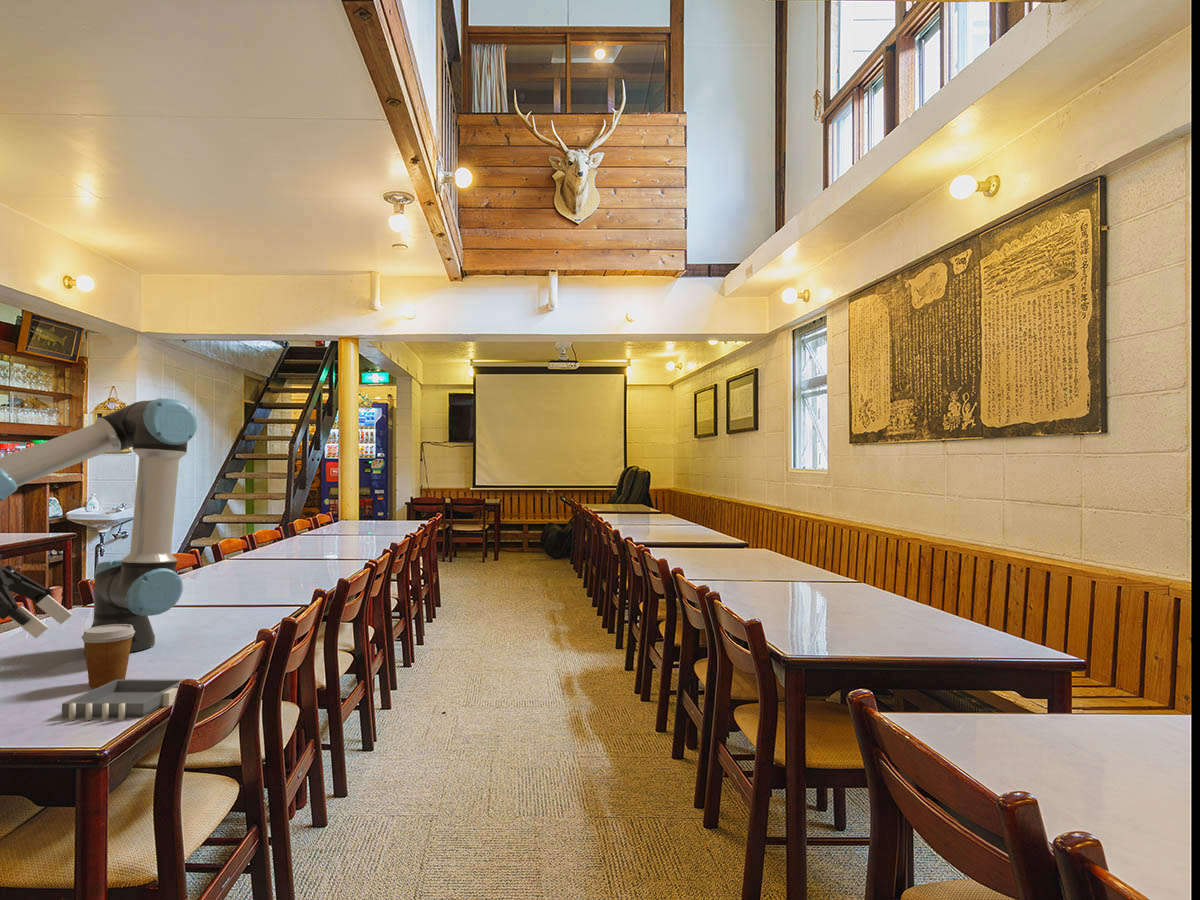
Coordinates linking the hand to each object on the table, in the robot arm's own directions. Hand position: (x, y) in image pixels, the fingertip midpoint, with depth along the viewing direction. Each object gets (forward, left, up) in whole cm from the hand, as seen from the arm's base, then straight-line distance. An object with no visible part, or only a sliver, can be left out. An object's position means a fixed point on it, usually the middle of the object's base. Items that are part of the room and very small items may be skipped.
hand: (55, 625), depth 145 cm
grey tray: (+10, +22, -13) cm, 28 cm away
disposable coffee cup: (-4, +9, -14) cm, 17 cm away
